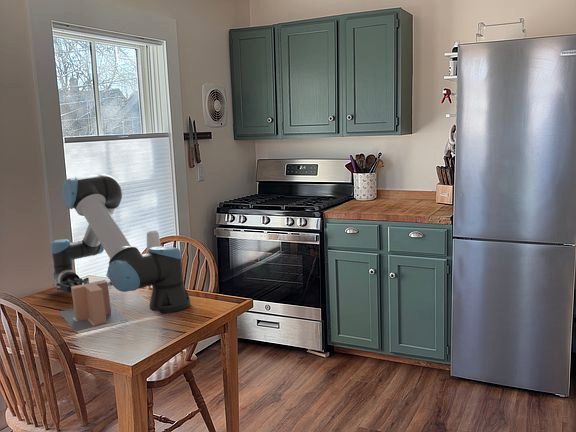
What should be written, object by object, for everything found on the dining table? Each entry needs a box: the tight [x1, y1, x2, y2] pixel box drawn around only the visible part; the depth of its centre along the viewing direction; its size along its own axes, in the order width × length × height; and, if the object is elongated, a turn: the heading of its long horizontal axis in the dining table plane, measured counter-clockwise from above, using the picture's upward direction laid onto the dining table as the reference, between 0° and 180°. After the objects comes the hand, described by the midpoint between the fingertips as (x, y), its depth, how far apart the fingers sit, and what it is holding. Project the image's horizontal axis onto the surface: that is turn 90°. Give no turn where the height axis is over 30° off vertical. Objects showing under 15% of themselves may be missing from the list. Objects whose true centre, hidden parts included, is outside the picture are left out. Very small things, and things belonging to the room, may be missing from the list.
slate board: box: [58, 304, 128, 335], centre depth 212 cm, size 28×18×1 cm, turn 32°
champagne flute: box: [146, 230, 162, 289], centre depth 249 cm, size 7×7×24 cm
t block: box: [71, 279, 111, 325], centre depth 206 cm, size 13×12×12 cm
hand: (81, 292), depth 222 cm, fingers closed
